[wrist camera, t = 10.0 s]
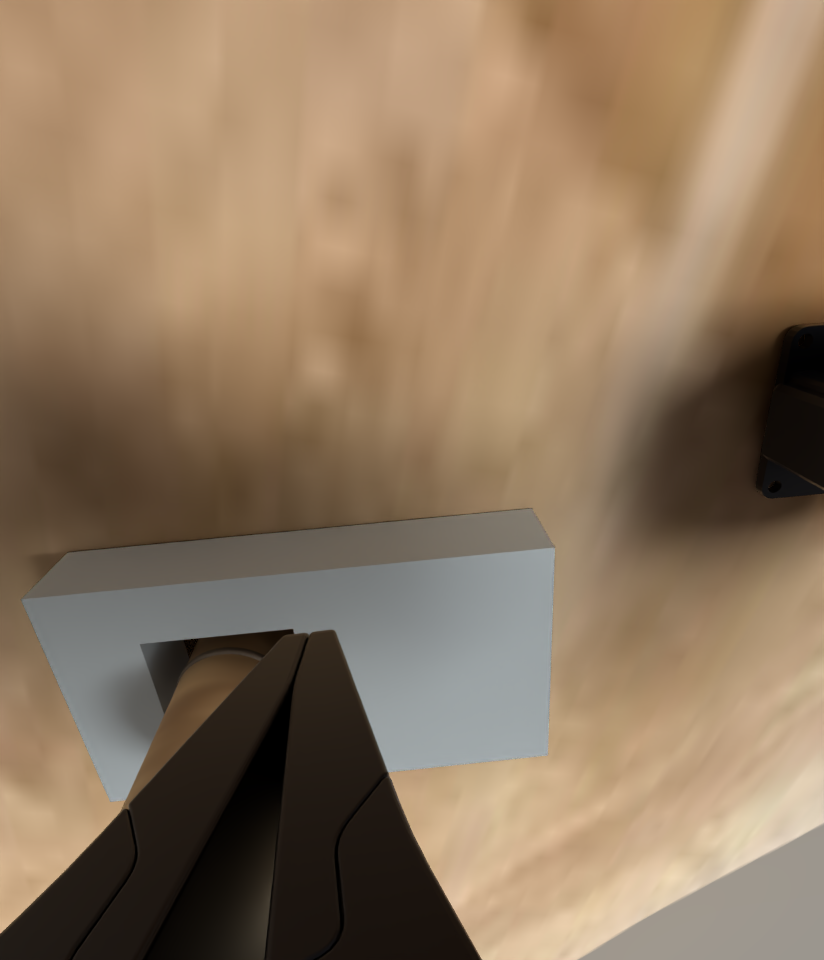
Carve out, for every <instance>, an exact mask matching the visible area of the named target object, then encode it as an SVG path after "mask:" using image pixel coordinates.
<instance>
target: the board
mask: <svg viewBox="0 0 824 960" xmlns="http://www.w3.org/2000/svg"><path fill="white" fill-rule="evenodd" d="M554 560H555V547H554V545H553V543H552V542H551V540H550V538H549V537H548V535H547V533H546V531H545V530H544V528H543V526H542V525H541V523H540V521H539V519H538V518H537V516H536V514H535V513H534V511H533V509H532V508H530V509H519V510H509V511H498V512H488V513H477V514H467V515H456V516H446V517H436V518H425V519H415V520H404V521H394V522H383V523H373V524H362V525H352V526H341V527H331V528H320V529H310V530H299V531H289V532H278V533H268V534H257V535H247V536H236V537H226V538H215V539H205V540H194V541H184V542H173V543H163V544H152V545H142V546H131V547H121V548H110V549H100V550H89V551H79V552H68V553H67V554H66V555H65V556H64V557H63V558H62V559H61V560H60V561H59V562H58V563H57V564H56V565H55V566H54V567H53V568H52V569H51V570H50V571H49V572H48V573H47V574H46V575H45V576H44V577H43V578H42V579H41V580H40V581H39V582H38V583H37V584H36V585H35V586H34V587H33V588H32V589H31V590H30V591H29V592H28V593H27V594H26V595H25V596H24V597H23V598H22V599H21V601H22V603H23V606H24V608H25V610H26V612H27V615H28V617H29V619H30V621H31V624H32V626H33V628H34V631H35V633H36V635H37V637H38V640H39V642H40V644H41V646H42V649H43V651H44V653H45V655H46V658H47V660H48V662H49V664H50V667H51V669H52V671H53V673H54V676H55V678H56V680H57V682H58V685H59V687H60V689H61V691H62V694H63V696H64V698H65V700H66V703H67V705H68V707H69V710H70V712H71V714H72V716H73V719H74V721H75V723H76V725H77V728H78V730H79V732H80V734H81V737H82V739H83V741H84V743H85V746H86V748H87V750H88V752H89V755H90V757H91V759H92V761H93V764H94V766H95V768H96V770H97V773H98V775H99V777H100V779H101V782H102V784H103V786H104V789H105V791H106V793H107V795H108V798H109V800H110V802H113V801H122V800H126V799H127V796H128V794H129V792H130V790H131V788H132V785H133V783H134V781H135V779H136V776H137V774H138V772H139V770H140V768H141V765H142V763H143V761H144V759H145V756H146V754H147V752H148V750H149V748H150V745H151V743H152V741H153V739H154V736H155V734H156V732H157V730H158V728H159V725H160V723H161V721H162V719H163V716H164V714H165V712H166V710H167V708H168V705H169V703H170V701H171V699H172V697H173V694H174V692H175V690H176V685H177V682H178V679H179V677H180V675H181V673H182V671H183V669H184V668H185V666H186V665H187V663H188V661H189V656H188V653H187V650H186V646H185V643H184V640H186V639H196V638H206V637H216V636H226V635H236V634H246V633H256V632H266V631H276V630H286V629H293V630H294V634H298V633H308V634H309V635H310V634H311V633H312V632H315V631H323V630H331V629H332V630H335V631H336V634H337V636H338V639H339V642H340V644H341V647H342V650H343V652H344V655H345V658H346V660H347V663H348V666H349V668H350V671H351V674H352V676H353V679H354V682H355V684H356V687H357V690H358V693H359V695H360V698H361V701H362V703H363V706H364V709H365V711H366V714H367V717H368V719H369V722H370V725H371V727H372V730H373V733H374V735H375V738H376V741H377V744H378V746H379V749H380V752H381V754H382V757H383V760H384V762H385V765H386V768H387V770H388V772H395V771H405V770H414V769H424V768H433V767H443V766H452V765H461V764H471V763H480V762H490V761H499V760H509V759H518V758H527V757H537V756H546V755H548V733H549V704H550V675H551V646H552V618H553V589H554Z"/></svg>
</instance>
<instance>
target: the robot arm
mask: <svg viewBox="0 0 824 960" xmlns="http://www.w3.org/2000/svg"><path fill="white" fill-rule="evenodd" d="M803 335H805V339H804V342H803V343H802V344H801V345H800V346H799V344H798V342H799V339H800V338H801V337H802V336H803ZM773 481H775V482H774V484H773V486H771V487H770V488H768V487H769V485H770V484H771V483H772V482H773ZM756 490H757V491H758V492H759V493H761V494H762V495H764V496H765V497H767V498H782V497H793V496H803V495H814V494H824V323H814V324H802V325H798V326H795V327H793V328H792V329H790V330H789V331H788V333H787V334H786V335H785V338H784V341H783V346H782V351H781V356H780V361H779V366H778V372H777V377H776V382H775V387H774V391H773V393H772V399H771V404H770V409H769V414H768V419H767V424H766V429H765V434H764V440H763V445H762V450H761V458H760V463H759V469H758V474H757V479H756ZM128 809H129V810H128ZM128 809H123V810H122V811H121V812H120V813H119V814H118V815H117V817H116V818H115V819H114V820H113V821H112V822H111V823H110V824H109V825H108V826H107V827H106V828H105V830H104V831H103V832H102V833H101V834H100V835H99V836H98V837H97V838H96V839H95V840H94V841H93V842H92V843H91V844H90V845H89V846H88V847H87V848H86V850H85V851H84V852H83V853H82V854H81V855H80V856H79V857H78V858H77V859H76V860H75V861H74V862H73V863H72V864H71V865H70V866H69V867H68V868H67V869H66V870H65V871H64V872H63V873H62V874H61V875H60V876H59V877H58V878H57V879H56V880H55V881H54V882H53V883H52V884H51V885H50V886H49V887H48V888H47V889H46V890H45V891H44V892H43V893H42V894H41V895H40V896H39V897H38V898H37V899H36V900H35V901H34V902H33V903H32V904H31V905H30V906H29V907H28V908H27V909H26V910H25V911H24V912H23V913H22V914H21V915H20V916H19V917H17V918H16V919H15V920H14V921H13V922H12V923H11V924H10V925H9V926H8V927H7V928H6V929H5V930H4V931H3V932H2V933H1V934H0V960H482V959H481V957H480V956H479V954H478V952H477V950H476V948H475V947H474V945H473V943H472V941H471V940H470V938H469V936H468V934H467V932H466V931H465V929H464V927H463V925H462V923H461V922H460V920H459V918H458V916H457V915H456V913H455V911H454V909H453V907H452V906H451V904H450V902H449V900H448V898H447V897H446V895H445V893H444V891H443V890H442V888H441V886H440V884H439V882H438V881H437V879H436V877H435V875H434V873H433V872H432V870H431V868H430V866H429V864H428V862H427V860H426V858H425V856H424V854H423V852H422V850H421V848H420V847H419V845H418V843H417V841H416V839H415V837H414V835H413V833H412V830H411V828H410V826H409V823H408V821H407V818H406V816H405V814H404V811H403V809H402V807H401V804H400V802H399V799H398V796H397V794H396V791H395V788H394V786H393V783H392V780H391V779H390V777H389V773H388V770H387V768H386V765H385V762H384V760H383V757H382V754H381V752H380V749H379V746H378V744H377V741H376V738H375V735H374V733H373V730H372V727H371V725H370V722H369V719H368V717H367V714H366V711H365V709H364V706H363V703H362V701H361V698H360V695H359V693H358V690H357V687H356V684H355V682H354V679H353V676H352V674H351V671H350V668H349V666H348V663H347V660H346V658H345V655H344V652H343V650H342V647H341V644H340V642H339V639H338V636H337V634H336V631H335V630H332V629H331V630H323V631H315V632H312V633H311V634H310V635H309V634H308V633H298V634H290V635H285V636H283V637H282V638H281V639H280V640H279V641H278V642H277V643H276V644H275V645H274V646H273V648H272V649H271V650H270V651H269V652H268V653H267V654H266V655H265V656H264V657H263V658H262V659H261V661H260V662H259V663H258V664H257V665H256V666H255V667H254V668H253V669H252V670H251V671H250V672H249V674H248V675H247V676H246V677H245V678H244V679H243V680H242V681H241V682H240V683H239V684H238V685H237V687H236V688H235V689H234V690H233V691H232V692H231V693H230V694H229V695H228V696H227V697H226V699H225V700H224V701H223V702H222V703H221V704H220V705H219V706H218V707H217V708H216V709H215V710H214V712H213V713H212V714H211V715H210V716H209V717H208V718H207V719H206V720H205V721H204V722H203V723H202V725H201V726H200V727H199V728H198V729H197V730H196V731H195V732H194V733H193V734H192V735H191V737H190V738H189V739H188V740H187V741H186V742H185V743H184V744H183V745H182V746H181V747H180V748H179V750H178V751H177V752H176V753H175V754H174V755H173V756H172V757H171V758H170V759H169V760H168V761H167V763H166V764H165V765H164V766H163V767H162V768H161V769H160V770H159V771H158V772H157V773H156V774H155V776H154V777H153V778H152V779H151V780H150V781H149V782H148V783H147V784H146V785H145V786H144V788H143V789H142V790H141V791H140V792H139V793H138V794H137V795H136V796H135V797H134V798H133V799H132V801H131V802H130V803H129V804H128Z"/></svg>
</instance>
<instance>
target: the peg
mask: <svg viewBox="0 0 824 960" xmlns="http://www.w3.org/2000/svg"><path fill="white" fill-rule="evenodd" d="M290 634H294V630H293V629H286V630H276V631H266V632H256V633H246V634H236V635H226V636H216V637H206V638H199V639H198V641H197V643H196V645H195V648H194V650H193V652H192V654H191V657H190V659H189V661H188V663H187V665H186V666H185V668H184V669H183V671H182V673H181V675H180V677H179V679H178V682H177V685H176V690H175V692H174V694H173V697H172V699H171V701H170V703H169V705H168V708H167V710H166V712H165V714H164V716H163V719H162V721H161V723H160V725H159V728H158V730H157V732H156V734H155V736H154V739H153V741H152V743H151V745H150V748H149V750H148V752H147V754H146V756H145V759H144V761H143V763H142V765H141V768H140V770H139V772H138V774H137V776H136V779H135V781H134V783H133V785H132V788H131V790H130V792H129V794H128V796H127V799H126V801H125V803H124V805H123V807H122V810H123V809H128V804H129V803H130V802H131V801H132V799H133V798H134V797H135V796H136V795H137V794H138V793H139V792H140V791H141V790H142V789H143V788H144V786H145V785H146V784H147V783H148V782H149V781H150V780H151V779H152V778H153V777H154V776H155V774H156V773H157V772H158V771H159V770H160V769H161V768H162V767H163V766H164V765H165V764H166V763H167V761H168V760H169V759H170V758H171V757H172V756H173V755H174V754H175V753H176V752H177V751H178V750H179V748H180V747H181V746H182V745H183V744H184V743H185V742H186V741H187V740H188V739H189V738H190V737H191V735H192V734H193V733H194V732H195V731H196V730H197V729H198V728H199V727H200V726H201V725H202V723H203V722H204V721H205V720H206V719H207V718H208V717H209V716H210V715H211V714H212V713H213V712H214V710H215V709H216V708H217V707H218V706H219V705H220V704H221V703H222V702H223V701H224V700H225V699H226V697H227V696H228V695H229V694H230V693H231V692H232V691H233V690H234V689H235V688H236V687H237V685H238V684H239V683H240V682H241V681H242V680H243V679H244V678H245V677H246V676H247V675H248V674H249V672H250V671H251V670H252V669H253V668H254V667H255V666H256V665H257V664H258V663H259V662H260V661H261V659H262V658H263V657H264V656H265V655H266V654H267V653H268V652H269V651H270V650H271V649H272V648H273V646H274V645H275V644H276V643H277V642H278V641H279V640H280V639H281V638H282V637H283V636H285V635H290ZM122 810H121V811H122ZM128 810H129V809H128Z"/></svg>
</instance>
